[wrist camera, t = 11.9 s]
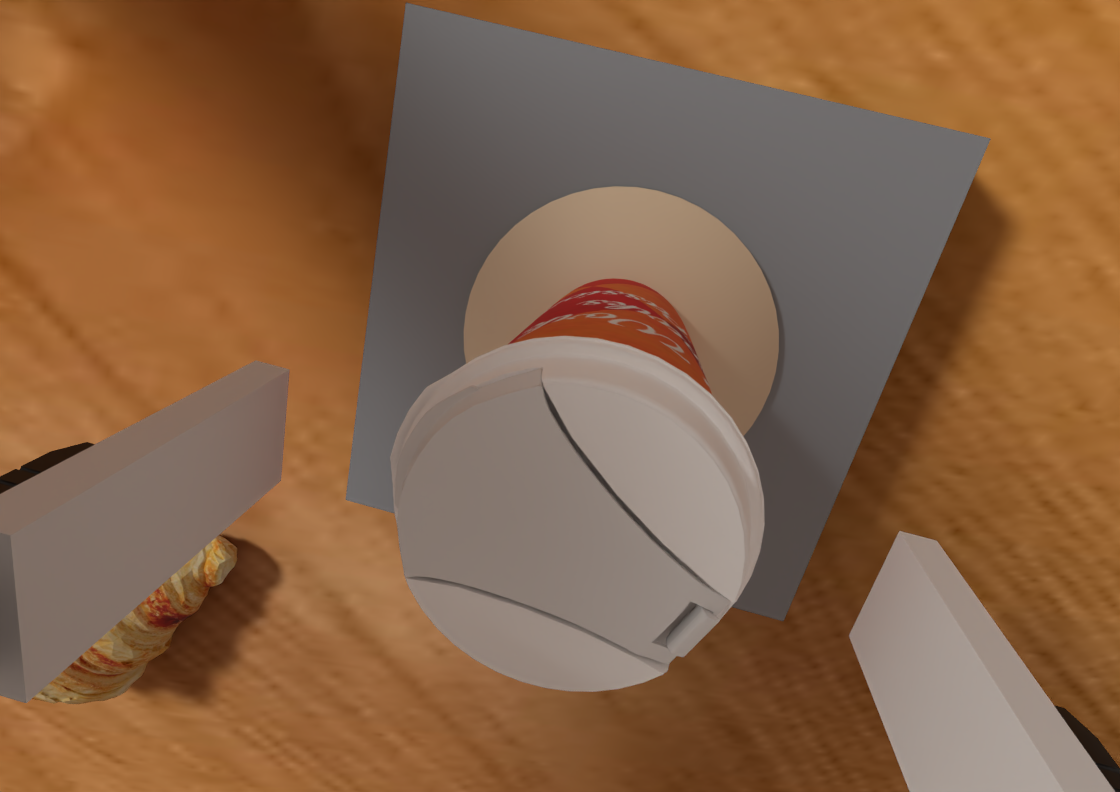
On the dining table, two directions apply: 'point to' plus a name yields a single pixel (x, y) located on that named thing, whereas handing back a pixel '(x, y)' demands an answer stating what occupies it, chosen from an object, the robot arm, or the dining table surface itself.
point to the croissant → (142, 631)
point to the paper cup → (578, 496)
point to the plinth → (655, 243)
